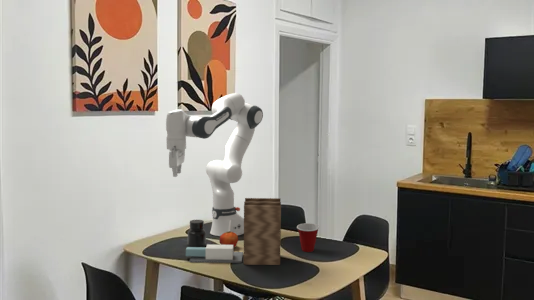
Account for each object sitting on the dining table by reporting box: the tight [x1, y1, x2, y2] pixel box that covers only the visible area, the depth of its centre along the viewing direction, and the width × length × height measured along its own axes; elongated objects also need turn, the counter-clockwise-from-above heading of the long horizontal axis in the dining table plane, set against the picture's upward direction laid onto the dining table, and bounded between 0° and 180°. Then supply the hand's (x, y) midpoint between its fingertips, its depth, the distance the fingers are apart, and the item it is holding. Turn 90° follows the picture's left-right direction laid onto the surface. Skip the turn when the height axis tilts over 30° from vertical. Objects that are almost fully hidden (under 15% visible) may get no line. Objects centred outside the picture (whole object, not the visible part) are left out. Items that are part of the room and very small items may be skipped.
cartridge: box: [185, 244, 234, 260], centre depth 229 cm, size 21×6×5 cm, turn 90°
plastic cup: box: [296, 222, 320, 253], centre depth 243 cm, size 11×11×12 cm
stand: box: [243, 197, 282, 266], centre depth 227 cm, size 16×14×27 cm
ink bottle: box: [187, 219, 207, 247], centre depth 249 cm, size 10×9×12 cm
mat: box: [189, 251, 244, 264], centre depth 231 cm, size 23×13×1 cm, turn 90°
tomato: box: [219, 231, 239, 249], centre depth 246 cm, size 9×9×8 cm
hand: (177, 174), depth 235 cm, fingers open, 8 cm apart
